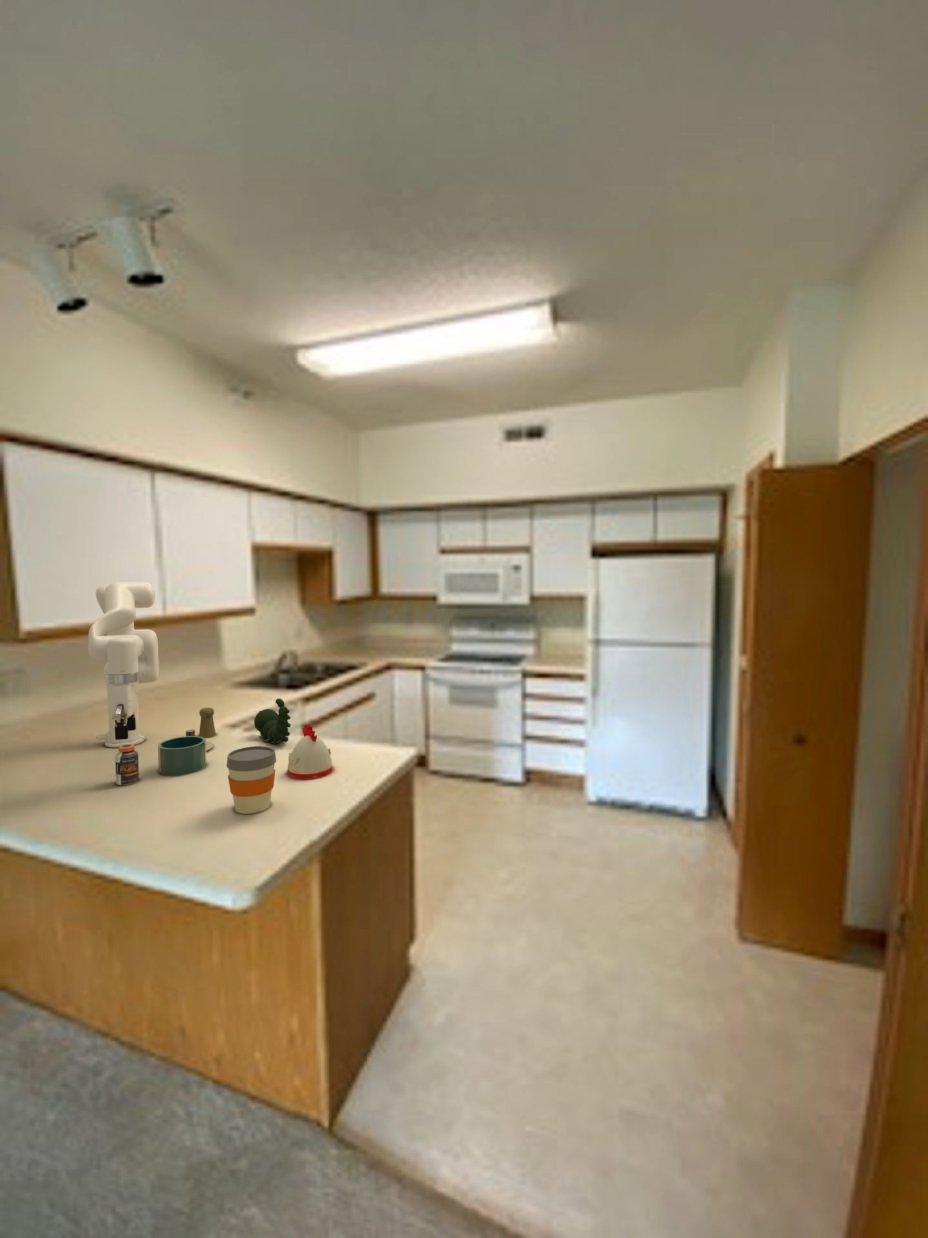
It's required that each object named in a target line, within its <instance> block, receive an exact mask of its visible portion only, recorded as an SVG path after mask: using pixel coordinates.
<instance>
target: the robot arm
mask: <svg viewBox="0 0 928 1238" xmlns="http://www.w3.org/2000/svg"><path fill="white" fill-rule="evenodd" d="M95 598H96V601H97V603H98V606H99V608H100V609H101V611H102V613H103V614H102V615H101V616H100V617H98V618H97V619H96V620H94V622H93V623H92V624H91V625H90V628H89V630H88V634H87V635H88V636H87V637H88V639H87V650H88V654H89V657H90V658H91V659H92V660H94V661H99V662H100V661H107V662H106V664H105V665H104V666H103V676H104V680H105V684H106V685H105V686H106V690H107V692H106V693H107V710H108V731H107V732H106V733H96V734H95V739H96V740H98V741H102V740H105V741H104V746H105V747H108V748H119V746H122V745H126V744H133V745H134V746H135V745H139V744H141V743H143V742H145V739H146V738H145V736H144V735H142V734H141V733H140V708H139V694H138V692H137V690H136V685H137V684H148V683H153V682H156V681H157V680H158V679H159V677H160V659H159V640H158V636H157V633H156V632H155V631H154V630H152V629H148V628H146V629H143V628H142V629H135V621H136V618H137V612H136V609H147V608H151V607H152V606H153V605H154V604H155V600H156V593H155V589H154V586H153V585H152V584H151V583H150V582H146V581H115V582H111V583H110V584H103V585H100V586H98V587H97V588H96V591H95ZM140 656H144V657H140Z"/></svg>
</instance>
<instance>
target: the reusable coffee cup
mask: <svg viewBox="0 0 928 1238" xmlns="http://www.w3.org/2000/svg"><path fill="white" fill-rule="evenodd" d="M276 755H277V754H276V750H275V749H274V748H273V747H270V746H266V745H265V746H263V745H253V746H245V747H241V748H237V749H235V750H232V751H230V752H229V753H228V754H227V757H226V768H227V769H228V775H227V780H228V785H229V791H230V794H231V795H232V799H233V804H234V810H235V812H236V813H239V814H243V815H244V814H245V815H247V814H248V815H249V814H250V815H251V814H255V813H260V812H263V811H265V810H267V809H268V808H270V806H271V798H272V791H273V789H274V786H275V778H276V768H275V764H276V763H277V757H276Z"/></svg>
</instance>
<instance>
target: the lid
mask: <svg viewBox="0 0 928 1238" xmlns="http://www.w3.org/2000/svg"><path fill="white" fill-rule="evenodd" d="M186 736H196V729H187V730H185V737H186ZM213 747H214V743H213V742H212V741H208V740H206V752H208V751H209V750H211V749H213Z"/></svg>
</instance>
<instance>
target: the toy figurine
mask: <svg viewBox="0 0 928 1238" xmlns="http://www.w3.org/2000/svg"><path fill="white" fill-rule="evenodd" d="M274 702H275V704H276V705H277V707H278V711H277V712H276V711H275V710H274V709H271V708H265V709H262V710H259V711H258V712H257V713H256V715H255V717H254V719H253V725H254V728H255V730H256V731H258V733H259V734H260V736H261V740H263V741H266V742H267V744H268V745H272V744H274V745H277V744H279V743H281V742H284V743H287V742H289V736H290V735H291V733H290V731H289V728H291V726H292V724H291V723H290V722H289V720H290V719H291V716H290V715H289V714H290V712H291V711H290V709H288V706H287V707H286V706H285V701H284V700H283V699H282V698H276V699H275V701H274Z"/></svg>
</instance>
